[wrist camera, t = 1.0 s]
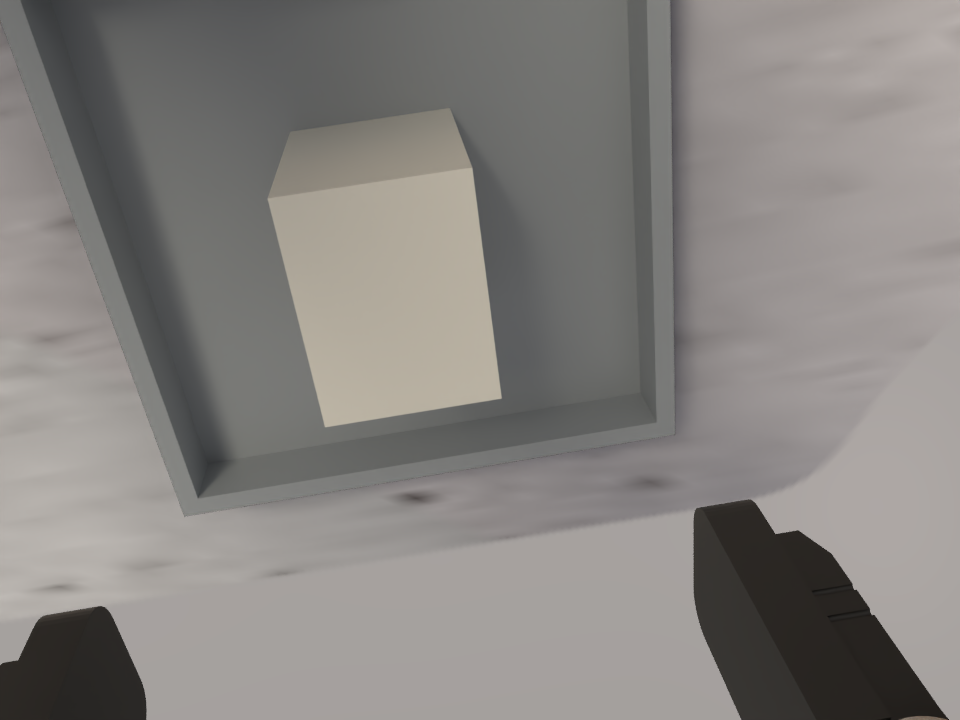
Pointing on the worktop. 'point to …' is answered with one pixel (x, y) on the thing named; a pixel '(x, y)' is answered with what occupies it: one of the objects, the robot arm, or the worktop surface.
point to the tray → (254, 244)
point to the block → (386, 266)
